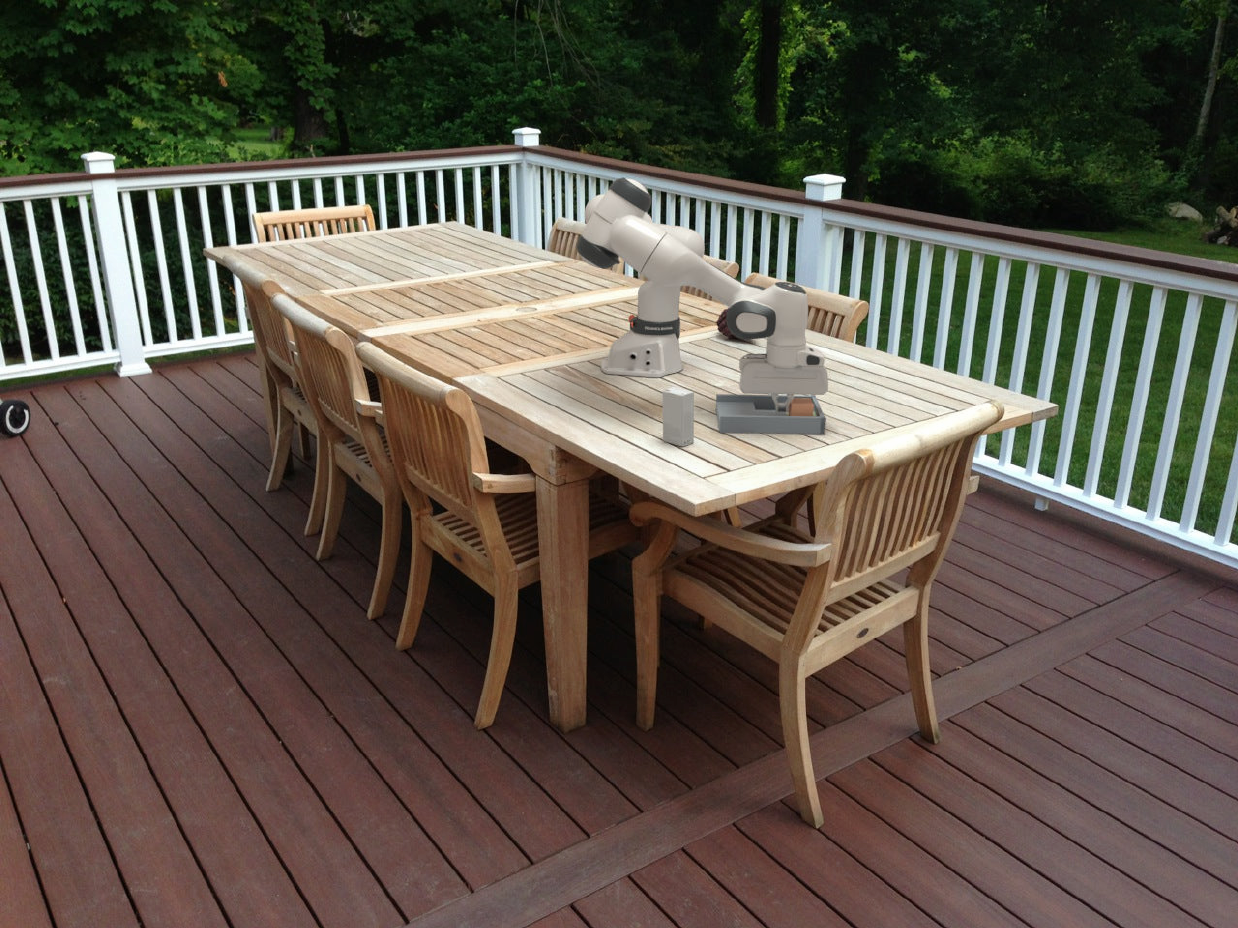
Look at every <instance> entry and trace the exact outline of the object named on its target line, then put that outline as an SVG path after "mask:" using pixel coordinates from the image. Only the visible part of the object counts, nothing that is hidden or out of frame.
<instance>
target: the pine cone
mask: <svg viewBox="0 0 1238 928" xmlns="http://www.w3.org/2000/svg"><path fill="white" fill-rule="evenodd" d="M729 309H730V308H729V307H727V308H725V309H723V311H722V312H721V313H720V315H718V318H717V320H716V321H715V323H716V326H717V331H718V332H719V333H721V334H722V336H724V337H727V338H728V339H729V340H731V339H733V338H734V339H737V338H738V337H736V336H734V335H733V334H732V333H731V332H730V330H729V328H728V326H727V322H726V317H727V313H728V310H729Z"/></svg>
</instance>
